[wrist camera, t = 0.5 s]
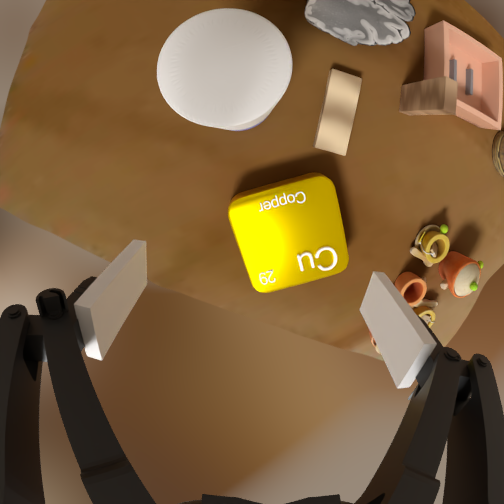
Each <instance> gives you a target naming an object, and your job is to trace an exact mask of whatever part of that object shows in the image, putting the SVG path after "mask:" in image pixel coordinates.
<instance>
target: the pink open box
mask: <svg viewBox="0 0 504 504" xmlns="http://www.w3.org/2000/svg"><path fill="white" fill-rule="evenodd" d="M424 32H425V52H424V78H423V80H428V79H433V78H438V77H443V76H447V77H449V78H451V79H453V80H454V81H456V82H458V86H457V103H456V116H458V117H460V118H462V119H464V120H466V121H468V122H470V123H472V124H474V125H475V126H477V127H479V128H487V129H495V130H501V121H502V101H503V73H502V58H500V57H499V56H498V55H496V54H495V53H494V52H492V51H491V50H490V49H488V48H487V47H485V46H484V45H482V44H481V43H480V42H478V41H477V40H475V39H474V38H472V37H470V36H469V35H467V34H466V33H464V32H462V31H461V30H459V29H458V28H456V27H454V26H452V25H451V24H449V23H447V22H445V21H444V20H443V21H441V22H439V23H436V24H434V25H432V26H430V27H428V28H426V29H424Z"/></svg>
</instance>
